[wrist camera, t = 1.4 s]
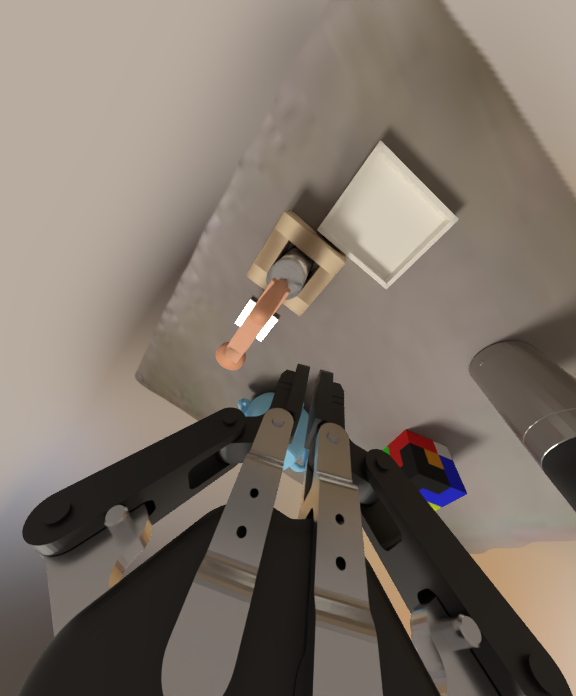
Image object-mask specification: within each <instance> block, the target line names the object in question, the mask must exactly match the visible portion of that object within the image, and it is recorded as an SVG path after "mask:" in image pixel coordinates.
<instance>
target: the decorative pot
mask: <svg viewBox="0 0 576 696" xmlns="http://www.w3.org/2000/svg"><path fill="white" fill-rule="evenodd" d="M274 394H275V393H273V392H268V393H264V394H262V395H260V396H258V397H256V398H255V399H254V400H253V401H251V402H250V401H249V400H248V399H245V398H244V399H241V400H239V402H238V407H239V408H240V409H242V410H241V411H242V412H243V413H244V415H245V416H260V415H262V414H264V413H266V412H267V411H268V410H269V408H270V406H271V403H272V400H273V397H274ZM243 404H244V405H245V406H243ZM303 407H304V402H303ZM303 407H302V413H301V416H300V419H299V423H298V426H297V429H296V432H295V435H294V438H293V441H292V444H289V445H288V448H287V452H286V456H285V460H284V466H283V470H285V469H287V468H288V467H290V468H291V469H293V470H294V471H296V472H302V471H305V464H306V461H307V458H308V454H309V452H308V450H309V449H306V448H304V445H305V438H306V431H307V425H308V418H309V414H308V413H307V412H306V410H305V409H304V408H303ZM301 454H302V459H303V464H302V466H300V465H298V464H297V463H296V462H295V461H296V460H297V459H298V458H299V457H300V455H301Z"/></svg>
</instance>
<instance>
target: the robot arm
mask: <svg viewBox="0 0 576 696" xmlns="http://www.w3.org/2000/svg"><path fill="white" fill-rule="evenodd" d="M309 370H310V367H309V366H305V365H302V364H298V365H297V369H296V372H294V371H290V370H286V371H285V372H283V373H282V374H281V377H280V380H279V382H278V385H277V388H276V391H275V394H274V397H273V400H272V403H271V406H270V408H269V410H268V411H267V412H266V413H264V414H262V415H260V416H245V415H244V413H243V412H242V411H240V410H239V409H236V408H224V409H222V410H220V411H218V412H216V413H214V414H212V415H210V416H208V417H206V418H204V419H202V420H200V421H198V422H196V423H194V424H192V425H190V426H188V427H186V428H184V429H182V430H180V431H178V432H176V433H174V434H172V435H170V436H168V437H166V438H164V439H162V440H160V441H158V442H156V443H154V444H152V445H150V446H148V447H146V448H144V449H143V450H140V451H138V452H136V453H134V454H132V455H130V456H128V457H126V458H124V459H122V460H120V461H118V462H116V463H114V464H112V465H110V466H108V467H106V468H105V469H103V470H100V471H98V472H96V473H94V474H92V475H90V476H88V477H86V478H85V479H83V480H81V481H79V482H77V483H75V484H73V485H71V486H69V487H67V488H65V489H63V490H61V491H59V492H57V493H55V494H53V495H51V496H50V497H48V498H47V499H45V500H44V501H42V502H41V503H40V504H39V505H38V506H37V507H36V508H35V509H34V510H33V511H32V512H31V514H30V515H29V516H28V518H27V520H26V522H25V524H24V526H23V531H22V532H23V538H24V540H25V541H26V542H27V543H28V544H29V545H31V546H32V547H33V548H34V549H35V550H36V552H37V553H38V554H39V555H40V556H41V557H43V558H44V559H45V561H46V569H47V577H48V586H49V595H50V603H51V612H52V621H53V629H54V638H53V640H52V641H51V642H50V643H49V645H48V646H47V647H46V649H45V650H44V651H43V653H42V654H41V655H40V657H39V658H38V660H37V661H36V663H35V664H34V666H33V667H32V669H31V671H30V672H29V674H28V676H27V678H26V680H25V681H24V683H23V685H22V687H21V689H20V691H19V693H18V695H17V696H573V695H572V693H571V691H570V688H569V686H568V684H567V682H566V679H565V678H564V676H563V674H562V672H561V671H560V669H559V667H558V666H557V664H556V663H555V662H554V660H553V659H552V658H551V656H550V655H549V654H548V652H547V651H546V650H545V649H544V647H543V646H542V645H541V644H540V642H539V641H538V640H537V639H536V637H535V636H534V635H533V634H532V632H531V631H530V630H529V629H528V627H527V626H526V625H525V623H524V622H523V621H522V620H521V618H520V617H519V616H518V615H517V614H516V612H515V611H514V610H513V608H512V607H511V606H510V605H509V603H508V602H507V601H506V600H505V599H504V597H503V596H502V595H501V593H500V592H499V591H498V590H497V588H496V587H495V586H494V585H493V583H492V582H491V581H490V580H489V578H488V577H487V576H486V575H485V573H484V572H483V571H482V570H481V568H480V567H479V566H478V565H477V563H476V562H475V561H474V559H473V558H472V557H471V556H470V554H469V553H468V552H467V551H466V549H465V548H464V547H463V546H462V544H461V543H460V542H459V541H458V539H457V538H456V537H455V536H454V534H453V533H452V532H451V531H450V529H449V528H448V527H447V526H446V524H445V523H444V522H443V521H442V519H441V518H440V517H439V516H438V514H437V513H436V512H435V511H434V509H433V508H432V507H431V506H430V504H429V503H428V502H427V501H426V499H425V498H424V497H423V496H422V494H421V493H420V492H419V490H418V489H417V488H416V487H415V485H414V484H413V483H412V482H411V480H410V479H409V478H408V477H407V475H406V474H405V473H404V472H403V470H402V469H401V468H400V467H399V465H398V464H397V463H396V462H395V460H394V459H393V458H392V457H391V456H390V455H389V454H387V453H386V452H384V451H382V450H379V449H372V450H370V451H368V452H367V451H365V450H364V449H362V448H360V447H359V446H357V445H355V444H354V443H353V442H352V441H351V440H350V439H349V436H348V434H347V432H346V431H345V419H344V390H343V388H342V387H341V385H340V384H338V383H335V382H333V373H332V372H328V371H324V370H320V372H319V375H318V378H317V381H316V384H315V387H314V390H313V394H312V398H311V404H310V411H309V418H308V425H307V431H306V438H305V445H304V448H306V449H309V454H308V458H307V461H306V464H305V473H304V482H303V492H302V501H301V507H300V511H299V516H298V519H291V518H289V517H287V516H286V515H284V514H283V513H281V512H280V511H278V510H276V509H275V508H273V506H274V502H275V499H276V495H277V491H278V487H279V482H280V479H281V474H282V470H283V466H284V460H285V456H286V452H287V448H288V445H289V444H292V441H293V438H294V435H295V432H296V429H297V426H298V423H299V419H300V416H301V413H302V407H303V402H304V397H305V391H306V386H307V380H308V375H309ZM469 371H470V375H471V377H472V378H473V379H474V381H475V382H476V383H477V385H478V386H479V387H480V389H481V390H482V391H483V393H484V394H485V395H486V397H487V398H488V399H489V401H490V402H491V403H492V405H493V406H494V407H495V408H496V410H497V411H498V412H499V414H500V415H501V416H502V418H503V419H504V420H505V422H506V423H507V424H508V426H509V427H510V428H511V429H512V431H513V432H514V433H515V435H516V436H517V437H518V439H519V440H520V441H521V443H522V444H523V445H524V447H525V448H526V449H527V450H528V452H529V453H530V454H531V455H532V457H533V458H534V459H535V461H536V462H537V463H538V465H539V466H540V467H541V469H542V470H543V471H544V472H545V474H546V475H547V476H548V478H549V479H550V480H551V481H552V483H553V484H554V485H555V486H556V488H557V489H558V490H559V491H560V493H561V494H562V495H563V496H564V498H565V499H566V500H567V501H568V503H569V504H570V505H571V507H572V508H573V509H574V510H575V512H576V379H575V378H574V377H573V376H571V375H570V374H569V373H567V372H566V371H564V370H563V369H562V368H560V367H559V366H558V365H556V364H555V363H554V362H552V361H551V360H550V359H549V358H547V357H546V356H544V355H543V354H542V353H540V352H539V351H538V350H536V349H535V348H534V347H532V346H531V345H529V344H527V343H524V342H520V341H505V342H501V343H497V344H494V345H491V346H489V347H487V348H485V349H484V350H482V351H481V352H479V353H478V354H477V355H476V356H475V357H474V359H473V360H472V362H471V364H470V370H469ZM238 463H243V464H242V467H241V469H240V472H239V474H238V477H237V479H236V482H235V484H234V487H233V489H232V492H231V494H230V496H229V499H228V501H227V504H226V505H223V506H220V507H218V508H216V509H214V510H212V511H210V512H209V513H207V514H206V515H204V516H203V517H202V518H201V519H199V520H198V521H197V522H195V523H194V524H193V525H192V526H190V527H189V528H188V529H186V530H185V531H184V532H182V533H181V534H180V535H179V536H177V537H176V538H175V539H173V540H172V541H171V542H170V543H168V544H167V545H166V546H164V547H163V548H162V549H161V550H159V551H158V552H157V553H155V554H154V555H153V556H152V557H150V558H149V559H148V560H146V561H145V562H144V563H143V564H141V565H140V566H139V567H137V568H136V569H135V570H133V571H132V572H131V573H130V574H128V575H127V576H126V577H124V578H123V579H122V580H121V577H122V575H123V573H124V572H125V570H126V568H127V567H128V566H129V564H130V563H131V562H132V561H133V560H134V559H135V558H136V557H137V556H138V555H139V554H140V553H141V552H142V551H143V550H144V549H145V547H146V546H147V544H148V542H149V540H150V537H151V534H152V525H153V524H155V523H156V522H158V521H159V520H160V519H162V518H163V517H164V516H166V515H167V514H169V513H170V512H172V511H173V510H174V509H176V508H177V507H178V506H180V505H181V504H183V503H184V502H185V501H187V500H189V499H190V498H191V497H192V496H194V495H195V494H197V493H198V492H200V491H201V490H202V489H204V488H205V487H207V486H208V485H210V484H211V483H212V482H214V481H215V480H217V479H218V478H219V477H221V476H222V475H224V474H225V473H227V472H228V471H229V470H231V469H232V468H233V467H235V466H236V465H237V464H238ZM362 527H363V529H364V531H365V532H366V534H367V536H368V538H369V540H370V541H371V543H372V545H373V547H374V549H375V550H376V552H377V554H378V556H379V558H380V559H381V561H382V563H383V565H384V566H385V568H386V570H387V572H388V574H389V575H390V577H391V579H392V581H393V582H394V584H395V586H396V588H397V589H398V591H399V593H400V595H401V597H402V598H403V600H404V602H405V604H406V606H407V607H408V609H409V610H410V613H411V619H410V627H411V638H412V641H411V639H410V637H409V635H408V634H407V632H406V630H405V628H404V626H403V624H402V622H401V621H400V619H399V617H398V615H397V613H396V611H395V609H394V608H393V606H392V604H391V602H390V600H389V598H388V596H387V595H386V593H385V591H384V589H383V587H382V586H381V583H380V582H379V580H378V578H377V576H376V574H375V572H374V571H373V568H372V567H371V565H370V563H369V562H368V560H367V559H366V557H365V554H364V543H363V533H362ZM120 580H121V581H120ZM412 642H413V643H412ZM413 644H414V645H413ZM417 651H418V652H417ZM418 653H419V654H418ZM419 655H420V656H419Z"/></svg>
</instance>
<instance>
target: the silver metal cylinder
mask: <svg viewBox="0 0 576 696" xmlns="http://www.w3.org/2000/svg"><path fill="white" fill-rule="evenodd" d="M311 267H312V259H311V258H310V257H309V256H308V255H306V254H305V253H304V252H303V251H301V250H300V249H299V248H298V247H295V248H293V249H291V250H290V251H289V252H287V253H286V254H285V255H284V256H283V257H282V258H281V259H280V260H279V261H277V262H276V263H275V264H274V265H273V266H272V267H271V268H270V269H269V271H268V273H267V276H266V284H267V286H268V285H269V283H270V282H271V280H272V279H273V278H274V277H275V278H276V279H277V280H283V281H285V282H286V283H287V286H288V288H289V289H290V290H291V292H290V293H289V295H288V296H287V297H286V299H285V300H289V299H292V298H294V297H296V296H297V295H298V294H299V293H300V291H301V289H302V287H303V285H304V283H305V280H306V278H307V276H308V274H309V272H310V270H311Z"/></svg>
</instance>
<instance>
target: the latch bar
mask: <svg viewBox="0 0 576 696" xmlns="http://www.w3.org/2000/svg"><path fill="white" fill-rule="evenodd" d="M290 292H291V290H290V289H289V288H288V286H287V283H286V282H285V281H283V280H277V279H276V278H275V277H274V278H273V279H272V280H271V282H270V283H269V285H268V286H267V288H266V289H265V291H264V292H263V294H262V295H261V297H260V298H259V300H258V301H257V303H256V304H255V306H254V307H253V309H252V310H251V311H250V313H249V314H248V316H247V317H246V319H245V320H244V322H243V323H242V325H241V326H240V328H239V329H238V331H237V332H236V334H235V335H234V337H233V338H232V340H231V341H230V342H226V343H223V344H222V345H221V346H220V347H219V349H218V350H217V351H216V359H217V361H218V363H219V364H220V365H221V366H222V367H224V368H226V369H229V370H237V369H239V368H240V367H241V366H242V364H243V363H244V361H245V359H246V354H245V351H246V350H247V349H248V347H249V346H250V345H251V343H252V342H253V341H254V340H255V338H256V337H257V336H258V334H259V333H260V332H261V330H262V329H263V328H264V326H265V325H266V324H267V322H268V321H269V320H270V318H271V317H272V316H273V314H274V313H275V312H276V311H277V309H278V308H279V307H280V305H281V304H282V303H283V301H284V300H285V299H286V297H287V296H288V295H289V293H290Z"/></svg>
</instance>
